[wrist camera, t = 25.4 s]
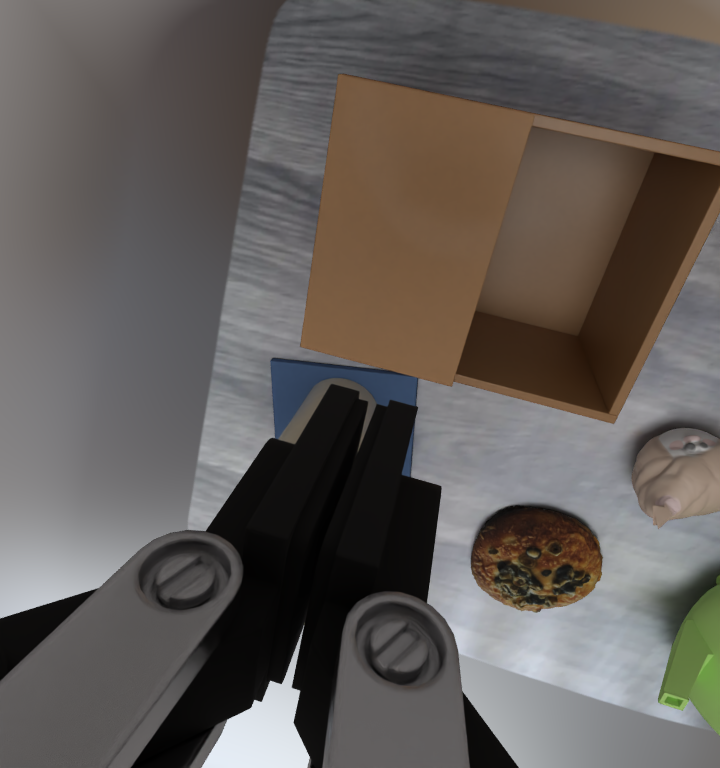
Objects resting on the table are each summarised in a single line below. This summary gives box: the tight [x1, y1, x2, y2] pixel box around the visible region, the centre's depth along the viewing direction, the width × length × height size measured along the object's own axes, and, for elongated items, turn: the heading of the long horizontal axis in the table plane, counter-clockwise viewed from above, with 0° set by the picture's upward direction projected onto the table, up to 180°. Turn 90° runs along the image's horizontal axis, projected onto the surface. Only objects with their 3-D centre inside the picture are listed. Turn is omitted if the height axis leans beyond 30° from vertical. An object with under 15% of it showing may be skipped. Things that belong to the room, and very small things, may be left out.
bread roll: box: [471, 506, 603, 613], centre depth 45 cm, size 11×11×5 cm
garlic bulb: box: [632, 428, 720, 529], centre depth 36 cm, size 7×6×8 cm
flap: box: [300, 74, 535, 387], centre depth 25 cm, size 8×13×1 cm, turn 169°
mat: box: [270, 358, 418, 477], centre depth 47 cm, size 20×12×1 cm, turn 179°
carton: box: [342, 74, 720, 424], centre depth 30 cm, size 17×13×12 cm
